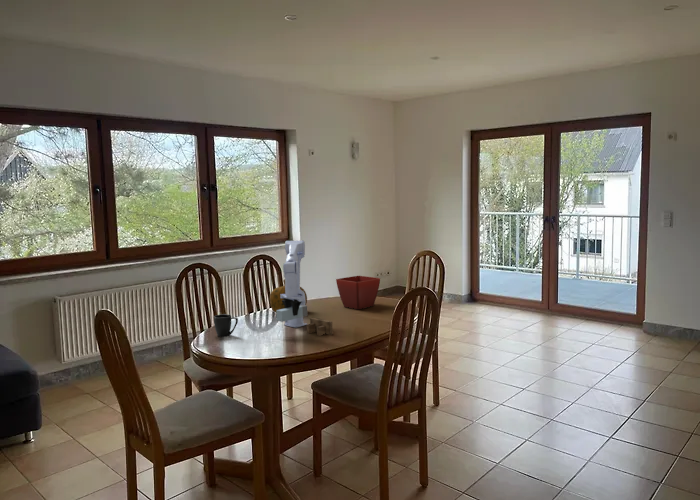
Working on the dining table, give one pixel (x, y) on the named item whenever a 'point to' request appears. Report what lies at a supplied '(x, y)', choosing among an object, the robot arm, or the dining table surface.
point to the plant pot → (358, 291)
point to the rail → (290, 313)
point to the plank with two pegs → (319, 326)
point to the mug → (223, 324)
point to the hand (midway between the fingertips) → (292, 314)
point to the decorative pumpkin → (277, 301)
